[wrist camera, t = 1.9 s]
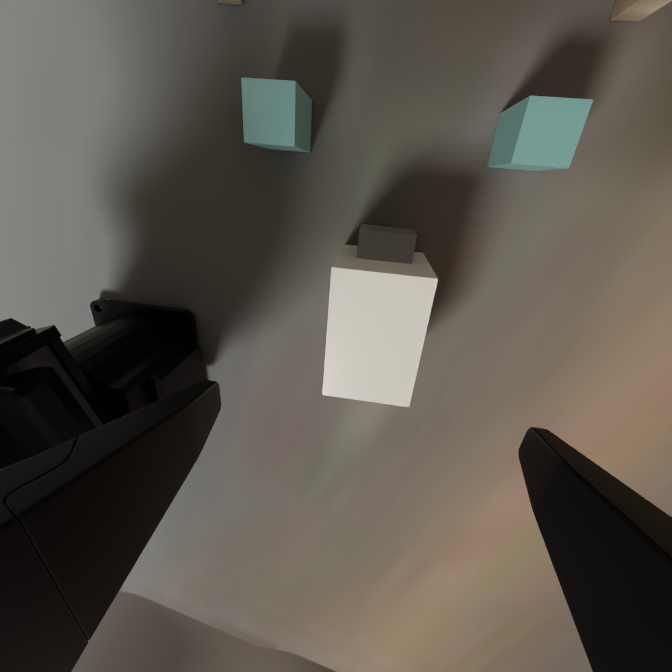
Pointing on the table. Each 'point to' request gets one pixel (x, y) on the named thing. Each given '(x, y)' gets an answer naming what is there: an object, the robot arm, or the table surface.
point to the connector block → (377, 316)
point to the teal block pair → (507, 148)
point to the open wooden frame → (630, 6)
